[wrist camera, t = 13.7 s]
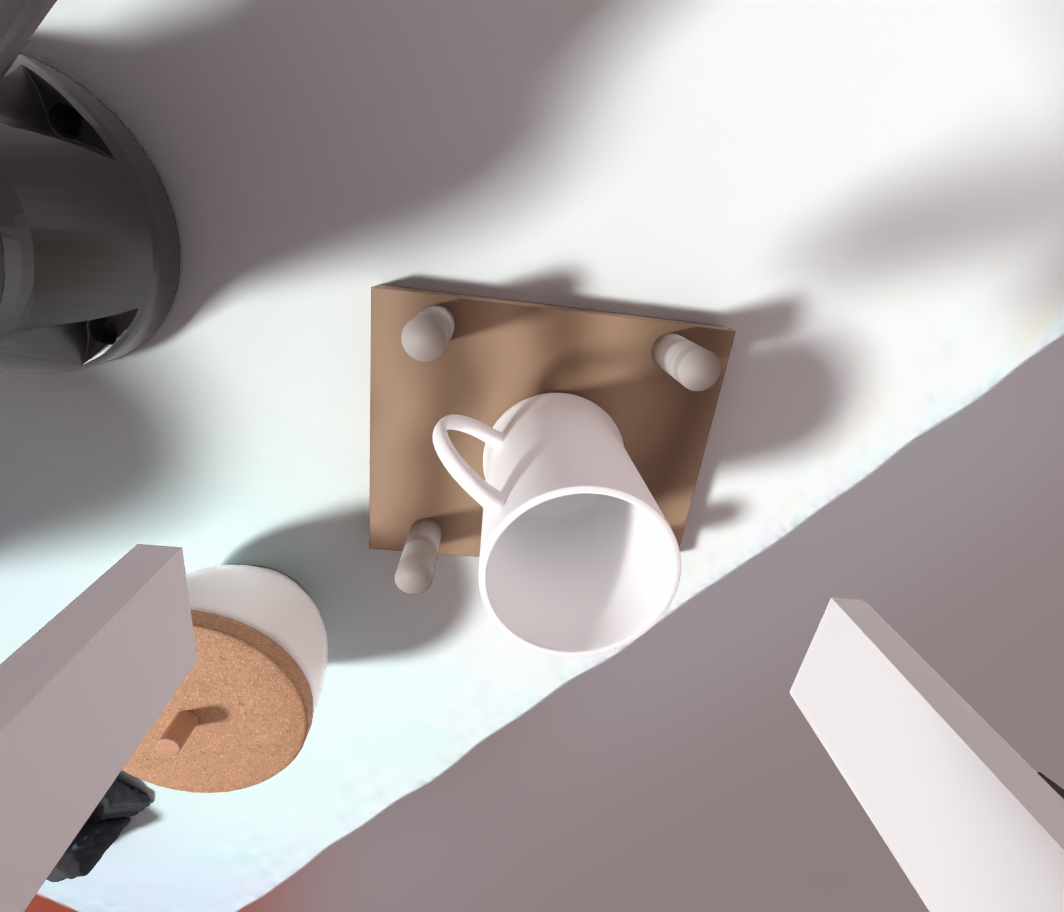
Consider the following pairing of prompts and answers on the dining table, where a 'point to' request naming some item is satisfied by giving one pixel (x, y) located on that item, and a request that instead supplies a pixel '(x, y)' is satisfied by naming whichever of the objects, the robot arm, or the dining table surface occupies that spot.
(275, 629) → the lidded bowl
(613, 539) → the mug
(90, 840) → the dark slate chunk
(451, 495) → the peg board
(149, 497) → the dining table surface
